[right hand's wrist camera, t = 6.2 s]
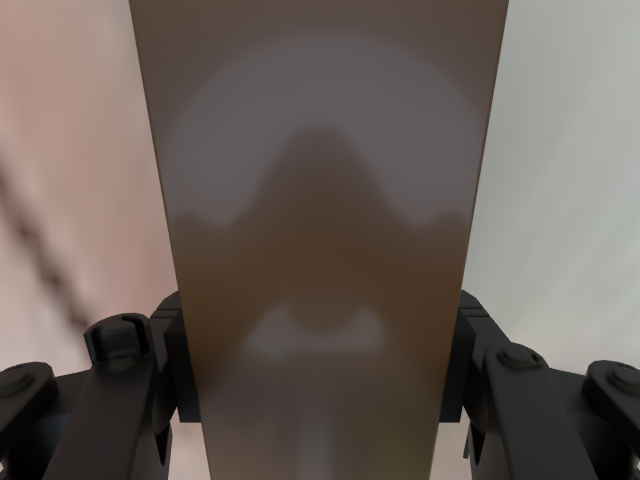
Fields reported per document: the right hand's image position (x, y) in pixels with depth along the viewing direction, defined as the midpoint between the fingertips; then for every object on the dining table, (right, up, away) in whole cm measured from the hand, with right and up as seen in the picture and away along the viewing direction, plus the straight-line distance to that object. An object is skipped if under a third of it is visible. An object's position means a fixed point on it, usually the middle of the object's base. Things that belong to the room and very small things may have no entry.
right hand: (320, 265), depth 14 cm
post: (0, +18, -7) cm, 19 cm away
